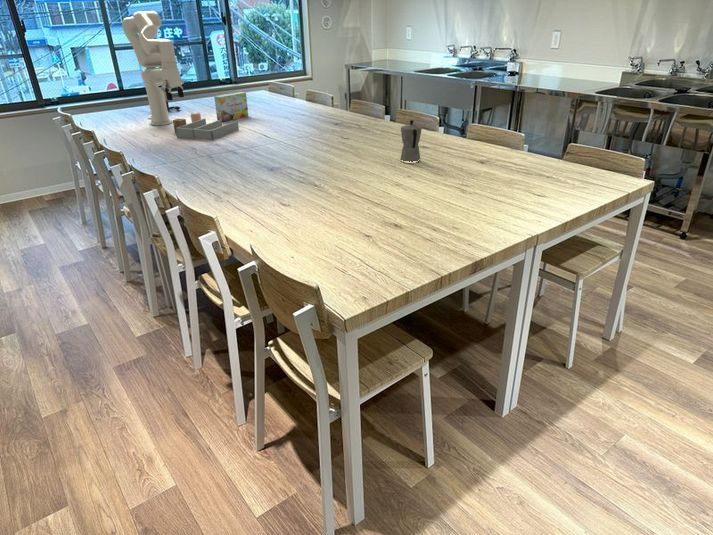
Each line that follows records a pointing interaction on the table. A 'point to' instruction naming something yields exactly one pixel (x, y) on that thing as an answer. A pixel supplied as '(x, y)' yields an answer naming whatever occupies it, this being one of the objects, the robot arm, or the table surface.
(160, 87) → the milk frother
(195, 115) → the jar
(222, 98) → the snack box
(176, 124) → the walnut block
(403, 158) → the coffeepot
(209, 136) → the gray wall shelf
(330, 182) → the table surface
